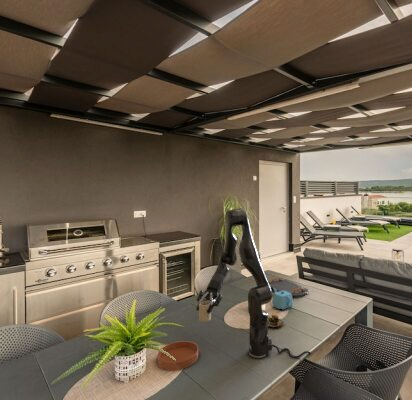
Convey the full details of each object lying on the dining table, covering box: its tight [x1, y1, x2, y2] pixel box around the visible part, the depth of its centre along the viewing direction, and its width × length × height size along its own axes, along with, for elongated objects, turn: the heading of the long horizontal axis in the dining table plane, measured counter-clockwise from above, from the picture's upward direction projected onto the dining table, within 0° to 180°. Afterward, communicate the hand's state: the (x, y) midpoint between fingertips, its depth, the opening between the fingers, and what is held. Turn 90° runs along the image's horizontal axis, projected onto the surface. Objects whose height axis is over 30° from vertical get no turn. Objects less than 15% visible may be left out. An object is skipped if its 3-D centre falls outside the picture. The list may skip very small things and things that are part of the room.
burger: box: [268, 311, 284, 329], centre depth 166 cm, size 12×12×8 cm
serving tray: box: [268, 277, 310, 297], centre depth 228 cm, size 39×23×6 cm, turn 34°
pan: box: [157, 340, 200, 371], centre depth 131 cm, size 18×18×4 cm
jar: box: [198, 300, 212, 323], centre depth 146 cm, size 6×6×8 cm
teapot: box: [271, 288, 294, 311], centre depth 194 cm, size 12×18×12 cm
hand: (202, 311), depth 145 cm, fingers closed on jar, 6 cm apart
